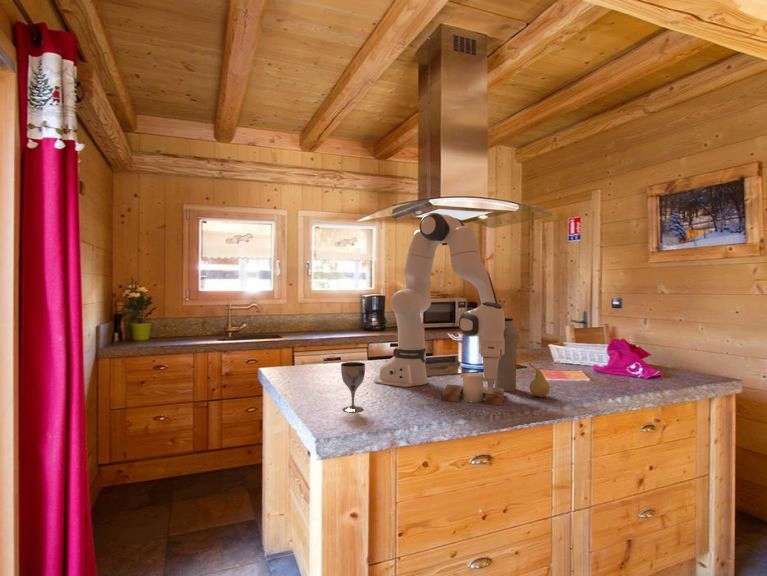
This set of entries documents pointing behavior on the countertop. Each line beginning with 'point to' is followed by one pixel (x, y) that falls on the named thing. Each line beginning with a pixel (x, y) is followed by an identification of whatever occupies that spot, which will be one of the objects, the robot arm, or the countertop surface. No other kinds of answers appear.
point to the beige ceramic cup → (473, 386)
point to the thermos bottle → (507, 359)
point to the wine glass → (353, 381)
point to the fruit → (539, 384)
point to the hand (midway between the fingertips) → (491, 387)
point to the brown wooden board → (457, 390)
